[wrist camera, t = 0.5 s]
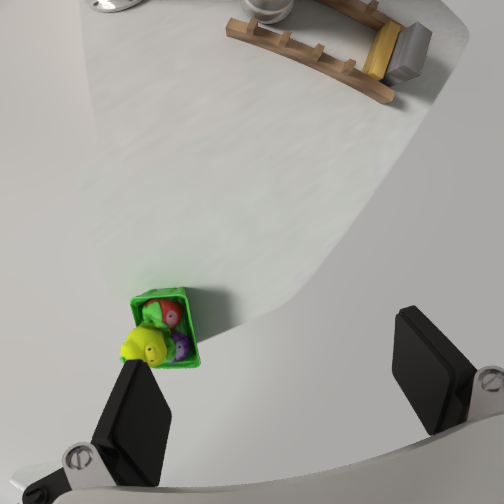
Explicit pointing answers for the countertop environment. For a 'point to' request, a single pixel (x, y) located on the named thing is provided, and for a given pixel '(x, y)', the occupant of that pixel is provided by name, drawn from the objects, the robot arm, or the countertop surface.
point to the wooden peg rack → (376, 66)
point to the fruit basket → (162, 331)
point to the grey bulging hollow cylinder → (267, 9)
